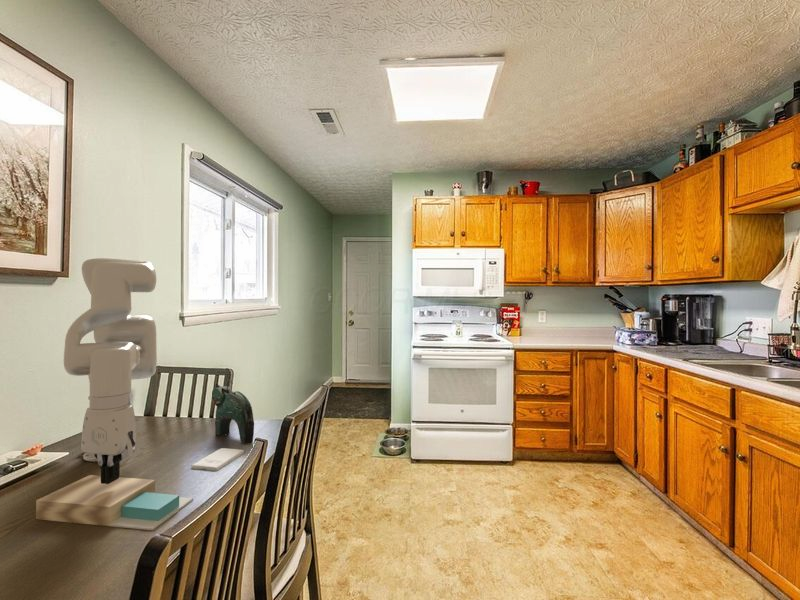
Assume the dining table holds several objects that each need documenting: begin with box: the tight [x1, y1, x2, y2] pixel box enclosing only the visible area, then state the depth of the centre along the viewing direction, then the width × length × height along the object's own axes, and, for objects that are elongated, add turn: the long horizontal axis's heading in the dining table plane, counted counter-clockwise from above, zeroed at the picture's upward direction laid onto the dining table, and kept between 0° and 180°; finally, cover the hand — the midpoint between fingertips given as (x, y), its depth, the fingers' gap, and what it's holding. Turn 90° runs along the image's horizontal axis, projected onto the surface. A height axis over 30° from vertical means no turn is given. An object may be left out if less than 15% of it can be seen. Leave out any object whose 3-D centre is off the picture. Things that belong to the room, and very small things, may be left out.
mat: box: [109, 496, 194, 531], centre depth 83 cm, size 10×12×1 cm
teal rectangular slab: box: [121, 492, 180, 521], centre depth 83 cm, size 9×6×2 cm, turn 81°
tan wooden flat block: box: [35, 474, 156, 527], centre depth 85 cm, size 18×12×4 cm, turn 82°
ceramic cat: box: [211, 379, 255, 446], centre depth 129 cm, size 20×6×20 cm, turn 55°
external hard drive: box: [190, 447, 245, 472], centre depth 111 cm, size 2×8×12 cm
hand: (110, 480), depth 85 cm, fingers closed
